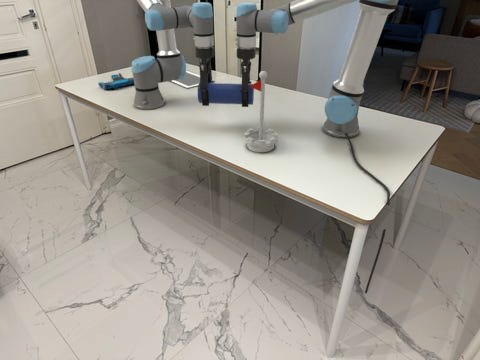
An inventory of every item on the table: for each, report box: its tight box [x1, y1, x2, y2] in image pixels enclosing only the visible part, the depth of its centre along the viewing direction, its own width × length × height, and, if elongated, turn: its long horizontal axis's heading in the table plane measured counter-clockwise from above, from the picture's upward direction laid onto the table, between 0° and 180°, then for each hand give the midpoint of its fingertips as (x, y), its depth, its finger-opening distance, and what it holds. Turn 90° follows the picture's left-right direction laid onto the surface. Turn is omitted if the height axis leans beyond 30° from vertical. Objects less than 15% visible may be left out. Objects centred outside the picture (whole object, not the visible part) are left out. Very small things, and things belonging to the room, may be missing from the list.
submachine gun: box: [97, 74, 134, 90], centre depth 209 cm, size 34×4×25 cm
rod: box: [197, 82, 255, 106], centre depth 144 cm, size 23×8×8 cm, turn 85°
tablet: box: [170, 70, 216, 89], centre depth 214 cm, size 32×20×1 cm, turn 41°
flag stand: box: [244, 70, 278, 153], centre depth 129 cm, size 13×13×30 cm
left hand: (207, 101), depth 147 cm, fingers closed on rod, 8 cm apart
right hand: (245, 102), depth 146 cm, fingers closed on rod, 8 cm apart
